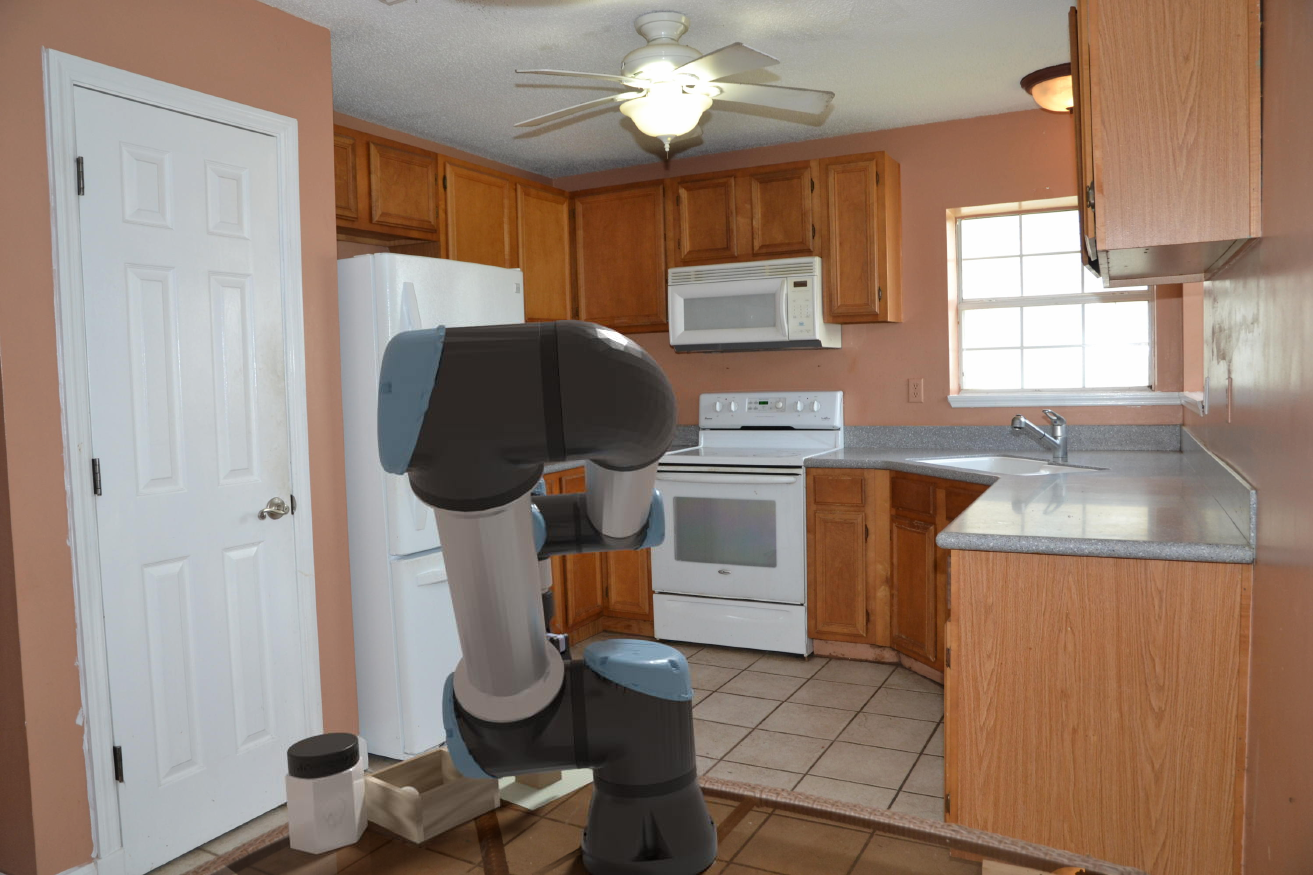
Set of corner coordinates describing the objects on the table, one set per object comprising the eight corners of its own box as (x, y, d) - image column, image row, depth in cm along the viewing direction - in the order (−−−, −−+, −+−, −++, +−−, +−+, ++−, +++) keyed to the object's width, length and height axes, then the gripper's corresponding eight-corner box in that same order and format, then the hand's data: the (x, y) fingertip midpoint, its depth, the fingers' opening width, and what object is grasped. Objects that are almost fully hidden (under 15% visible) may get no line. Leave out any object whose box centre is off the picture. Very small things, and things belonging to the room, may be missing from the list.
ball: (425, 810, 113) (423, 785, 113) (403, 820, 110) (401, 794, 110) (411, 804, 115) (409, 780, 115) (389, 814, 113) (387, 789, 112)
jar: (297, 867, 102) (289, 763, 101) (284, 841, 109) (277, 744, 108) (377, 843, 107) (369, 743, 106) (359, 819, 113) (352, 726, 113)
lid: (607, 782, 121) (602, 715, 120) (533, 819, 111) (527, 746, 111) (544, 762, 129) (539, 700, 129) (470, 794, 120) (465, 727, 120)
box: (500, 811, 113) (497, 764, 113) (418, 849, 104) (414, 799, 104) (445, 789, 121) (442, 746, 121) (364, 823, 112) (361, 776, 112)
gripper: (605, 592, 115) (616, 762, 115) (494, 579, 130) (504, 729, 131) (561, 604, 109) (573, 782, 110) (451, 589, 125) (462, 745, 125)
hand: (536, 753), depth 120 cm, fingers open, 10 cm apart
